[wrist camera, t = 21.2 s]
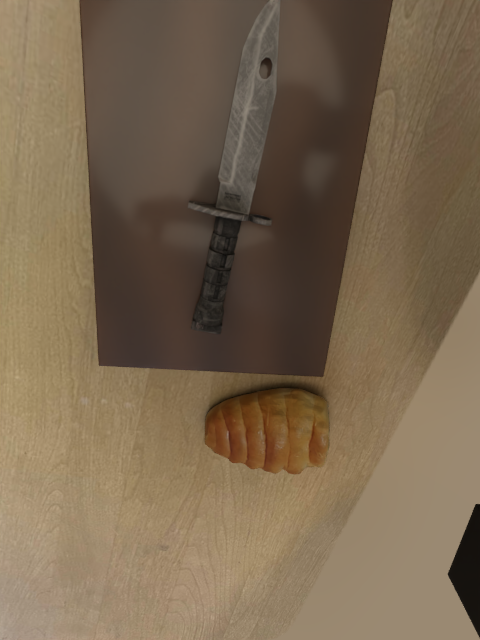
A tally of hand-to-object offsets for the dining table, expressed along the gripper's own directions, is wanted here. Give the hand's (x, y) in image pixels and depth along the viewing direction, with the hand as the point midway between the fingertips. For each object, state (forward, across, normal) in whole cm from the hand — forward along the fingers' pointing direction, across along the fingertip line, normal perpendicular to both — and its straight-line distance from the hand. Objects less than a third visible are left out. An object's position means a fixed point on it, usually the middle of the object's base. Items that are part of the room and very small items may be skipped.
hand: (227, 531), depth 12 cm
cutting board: (+20, 0, +6) cm, 21 cm away
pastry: (+20, +4, -11) cm, 23 cm away
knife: (+19, 0, +7) cm, 20 cm away
